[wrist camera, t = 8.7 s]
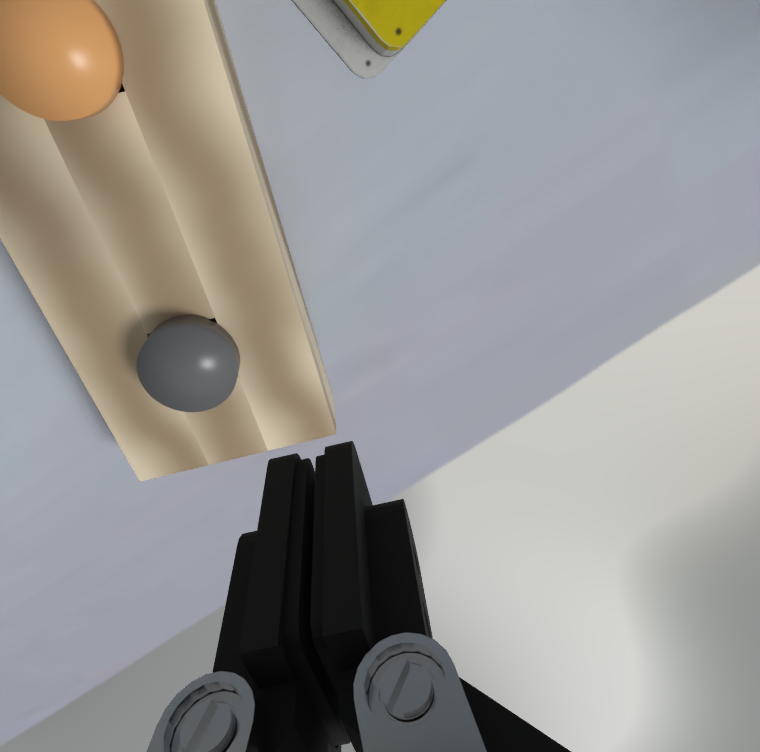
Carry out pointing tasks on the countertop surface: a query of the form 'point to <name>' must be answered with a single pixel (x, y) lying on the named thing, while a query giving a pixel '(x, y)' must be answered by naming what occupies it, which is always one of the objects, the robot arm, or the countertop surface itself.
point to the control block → (164, 243)
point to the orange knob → (59, 58)
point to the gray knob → (189, 364)
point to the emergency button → (368, 28)
